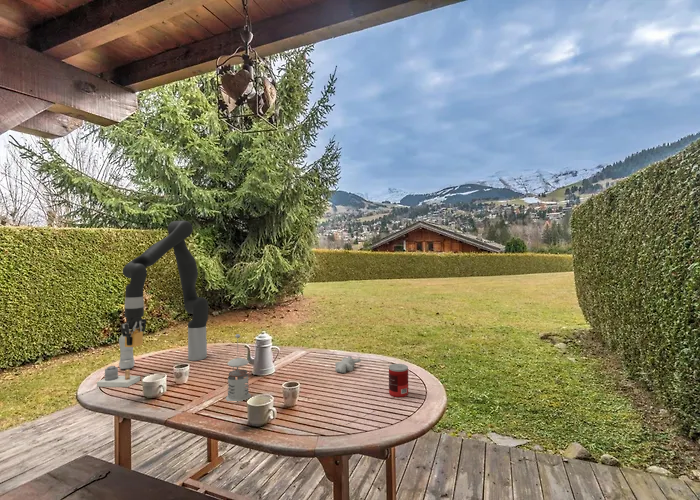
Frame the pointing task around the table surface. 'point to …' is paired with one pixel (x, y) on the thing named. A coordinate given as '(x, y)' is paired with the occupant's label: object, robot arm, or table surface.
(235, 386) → the french press
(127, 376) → the copper post
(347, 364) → the bunny figurine
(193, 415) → the table surface
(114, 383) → the white rectangular plate
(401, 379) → the canned food
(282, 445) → the table surface
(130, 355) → the plastic bottle
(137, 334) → the domed tan cube
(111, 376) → the capped post
